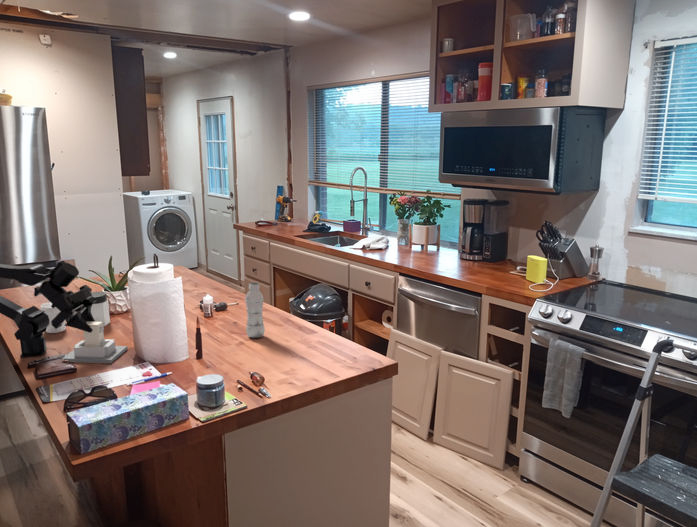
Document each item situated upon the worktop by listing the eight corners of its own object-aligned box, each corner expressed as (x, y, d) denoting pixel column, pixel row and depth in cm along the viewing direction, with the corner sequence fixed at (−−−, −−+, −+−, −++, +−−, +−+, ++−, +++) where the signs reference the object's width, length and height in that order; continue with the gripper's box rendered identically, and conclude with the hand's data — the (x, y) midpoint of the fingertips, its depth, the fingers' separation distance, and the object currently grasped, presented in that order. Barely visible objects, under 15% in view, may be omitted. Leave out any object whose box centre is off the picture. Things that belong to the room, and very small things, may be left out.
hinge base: (62, 361, 177) (60, 349, 176) (81, 348, 189) (80, 336, 188) (110, 363, 177) (109, 351, 176) (127, 349, 188) (126, 337, 187)
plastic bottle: (261, 340, 198) (260, 286, 194) (243, 339, 199) (241, 285, 195) (267, 334, 204) (266, 282, 200) (250, 333, 206) (248, 280, 201)
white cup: (38, 331, 204) (35, 305, 202) (58, 325, 211) (55, 300, 209) (52, 335, 201) (49, 308, 199) (72, 328, 208) (69, 303, 205)
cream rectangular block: (85, 350, 181) (82, 324, 179) (89, 347, 184) (87, 321, 182) (101, 351, 181) (99, 324, 179) (106, 347, 184) (103, 321, 182)
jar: (80, 325, 211) (77, 295, 209) (99, 319, 218) (96, 290, 216) (95, 329, 207) (92, 298, 204) (114, 323, 214) (111, 293, 211)
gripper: (57, 287, 168) (95, 323, 170) (88, 272, 186) (123, 305, 188) (34, 311, 170) (73, 346, 172) (67, 294, 189) (102, 326, 190)
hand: (94, 329), depth 181 cm, fingers open, 3 cm apart
